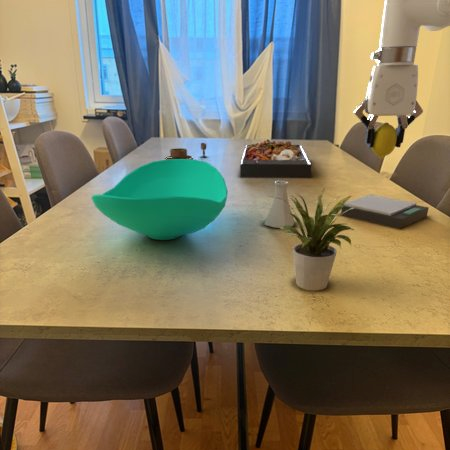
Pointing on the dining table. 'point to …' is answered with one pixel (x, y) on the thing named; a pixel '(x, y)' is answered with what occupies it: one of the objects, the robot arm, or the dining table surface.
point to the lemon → (384, 140)
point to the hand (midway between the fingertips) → (383, 145)
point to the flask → (280, 208)
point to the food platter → (275, 160)
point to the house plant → (316, 244)
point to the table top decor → (166, 198)
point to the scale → (384, 211)
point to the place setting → (184, 153)
